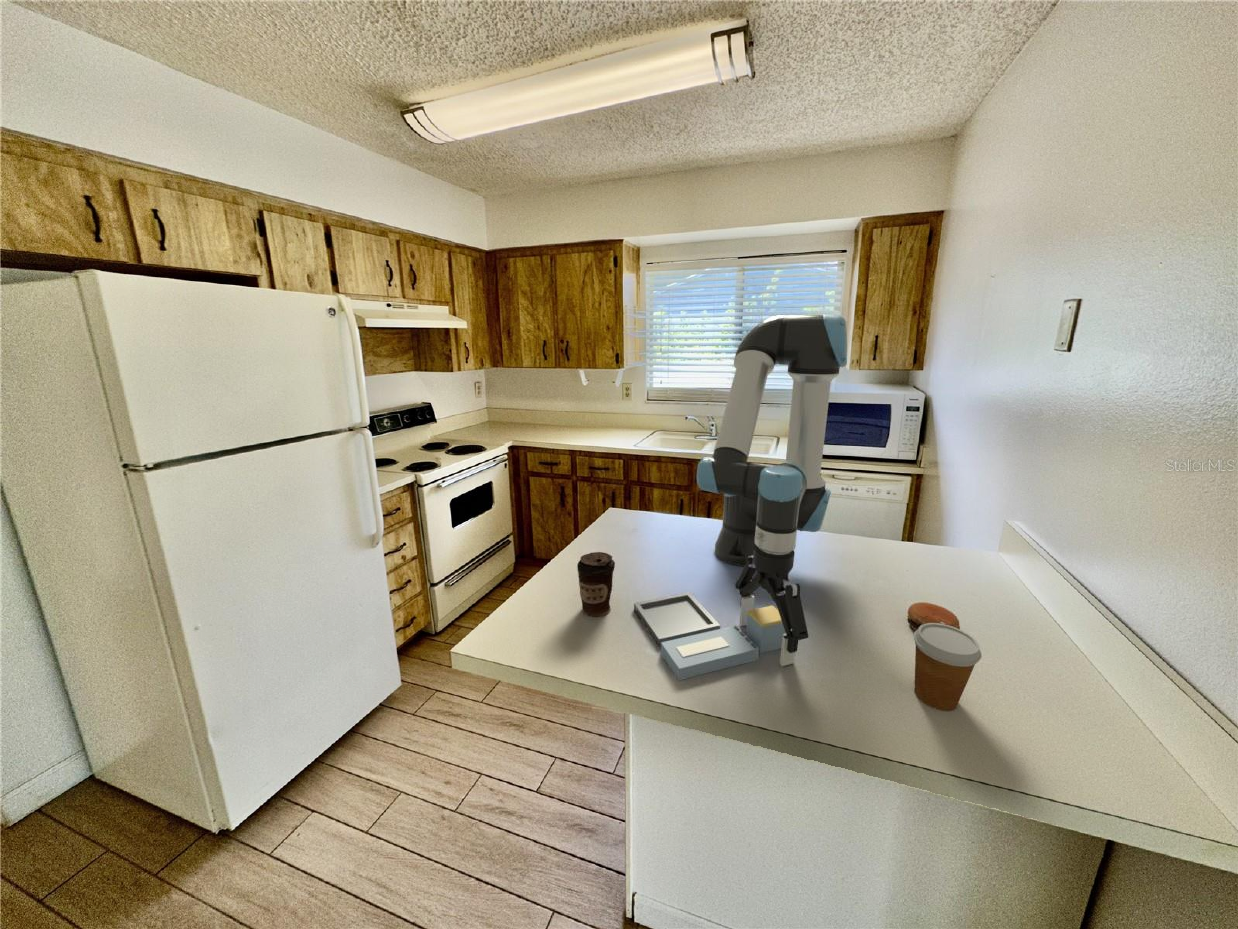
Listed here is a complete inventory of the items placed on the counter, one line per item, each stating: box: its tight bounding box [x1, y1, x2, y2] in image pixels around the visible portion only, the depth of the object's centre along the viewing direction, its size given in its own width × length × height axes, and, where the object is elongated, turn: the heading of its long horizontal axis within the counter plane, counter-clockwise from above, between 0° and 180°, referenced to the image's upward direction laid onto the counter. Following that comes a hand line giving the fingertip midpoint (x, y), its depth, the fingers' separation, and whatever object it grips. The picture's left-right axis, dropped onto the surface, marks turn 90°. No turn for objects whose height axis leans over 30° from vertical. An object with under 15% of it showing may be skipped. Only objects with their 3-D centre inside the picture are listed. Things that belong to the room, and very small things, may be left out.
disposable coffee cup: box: [913, 623, 983, 712], centre depth 82 cm, size 10×10×12 cm
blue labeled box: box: [660, 625, 760, 681], centre depth 94 cm, size 17×8×3 cm, turn 109°
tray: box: [633, 591, 721, 648], centre depth 105 cm, size 14×14×2 cm
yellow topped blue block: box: [745, 604, 786, 654], centre depth 97 cm, size 6×5×7 cm
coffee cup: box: [576, 551, 616, 617], centre depth 108 cm, size 9×8×13 cm
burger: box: [906, 602, 961, 631], centre depth 102 cm, size 10×9×5 cm
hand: (765, 642), depth 98 cm, fingers open, 13 cm apart
